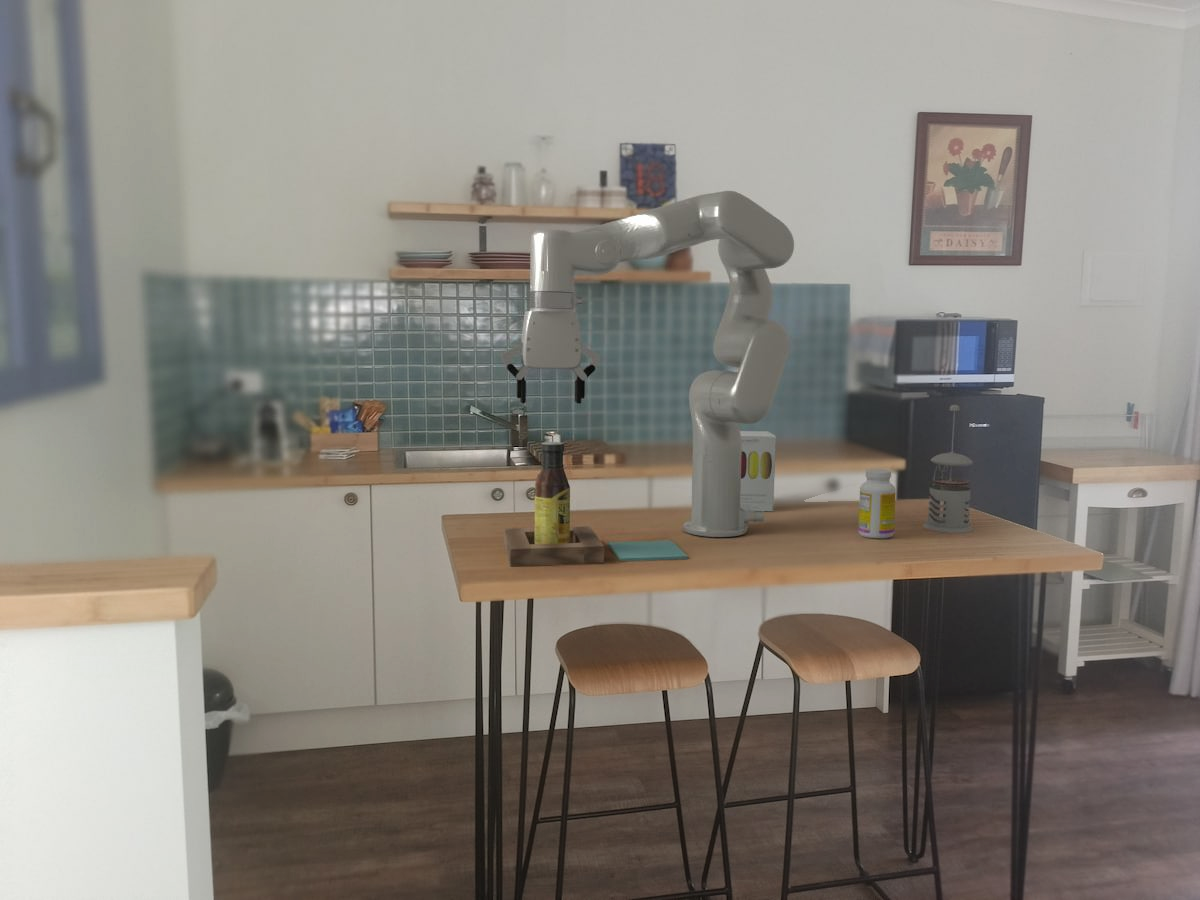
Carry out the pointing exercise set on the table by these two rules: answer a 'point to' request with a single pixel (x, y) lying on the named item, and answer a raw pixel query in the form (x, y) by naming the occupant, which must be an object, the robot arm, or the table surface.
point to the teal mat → (647, 550)
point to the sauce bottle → (552, 497)
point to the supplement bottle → (877, 505)
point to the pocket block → (553, 548)
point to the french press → (949, 494)
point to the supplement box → (757, 470)
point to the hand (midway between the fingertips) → (550, 402)
